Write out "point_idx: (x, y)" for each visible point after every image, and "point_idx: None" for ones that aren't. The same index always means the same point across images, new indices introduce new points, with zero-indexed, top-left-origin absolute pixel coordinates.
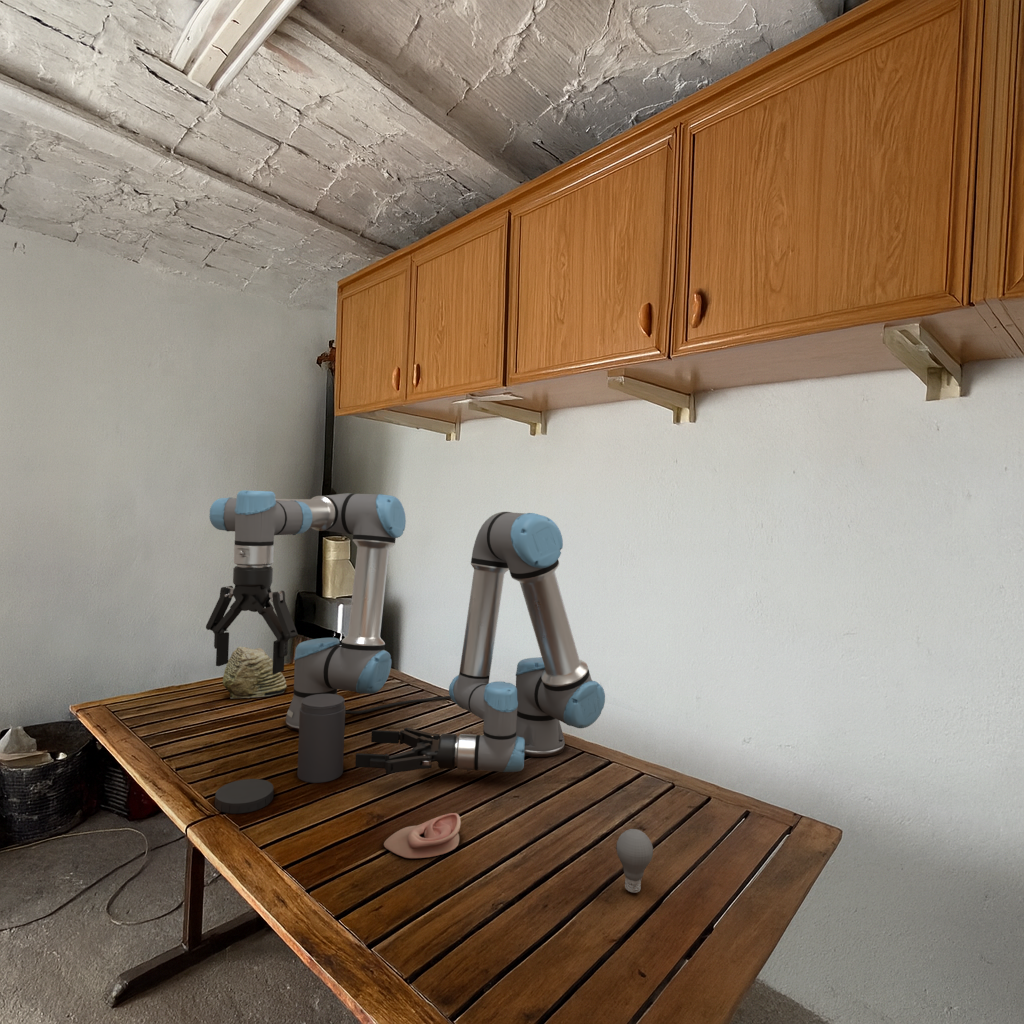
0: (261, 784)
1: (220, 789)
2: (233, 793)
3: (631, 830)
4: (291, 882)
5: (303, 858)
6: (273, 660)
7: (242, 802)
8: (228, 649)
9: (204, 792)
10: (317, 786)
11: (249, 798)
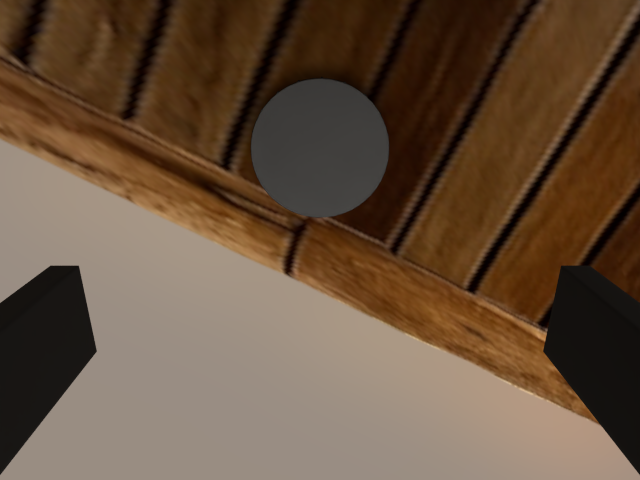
0: (336, 105)
1: (259, 167)
2: (304, 174)
3: None
4: None
5: None
6: (600, 417)
7: (355, 204)
8: (9, 326)
9: (201, 146)
10: (453, 3)
11: (357, 182)
